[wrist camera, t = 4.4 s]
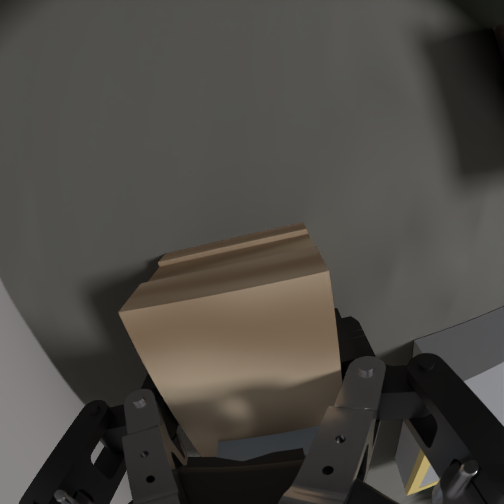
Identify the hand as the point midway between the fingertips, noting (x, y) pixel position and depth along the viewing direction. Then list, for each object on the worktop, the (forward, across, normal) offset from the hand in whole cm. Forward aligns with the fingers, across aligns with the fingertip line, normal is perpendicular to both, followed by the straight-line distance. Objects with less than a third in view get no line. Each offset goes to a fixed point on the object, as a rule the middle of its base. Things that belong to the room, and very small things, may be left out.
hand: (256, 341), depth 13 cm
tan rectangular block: (+1, 0, +2) cm, 3 cm away
